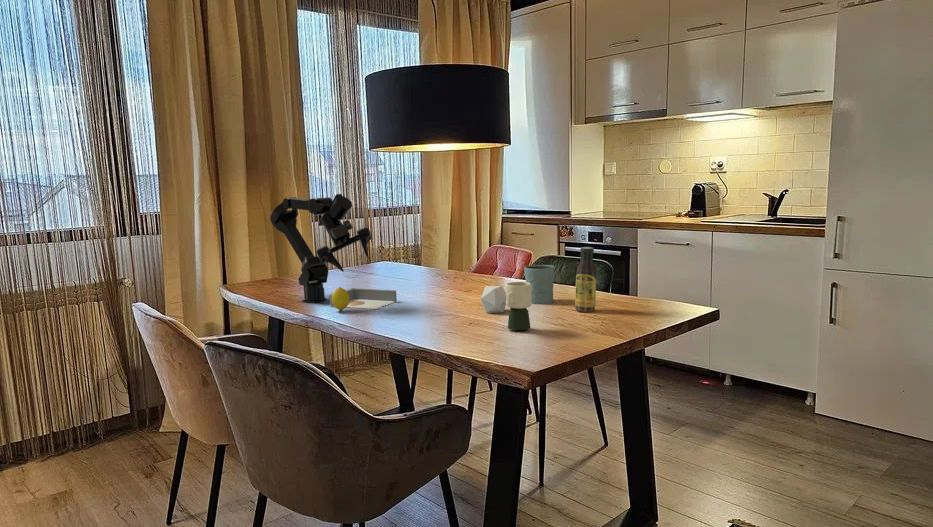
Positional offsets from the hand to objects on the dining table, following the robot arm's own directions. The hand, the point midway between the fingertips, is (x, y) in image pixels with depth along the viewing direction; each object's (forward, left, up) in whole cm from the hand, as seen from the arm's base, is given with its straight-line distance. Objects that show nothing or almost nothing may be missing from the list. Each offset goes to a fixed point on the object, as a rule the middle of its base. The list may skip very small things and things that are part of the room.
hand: (355, 265), depth 205 cm
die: (+45, +8, -15) cm, 49 cm away
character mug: (+60, -12, -15) cm, 63 cm away
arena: (-3, +7, -15) cm, 17 cm away
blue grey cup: (+54, +27, -15) cm, 63 cm away
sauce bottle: (+72, +17, -15) cm, 76 cm away
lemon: (-4, -5, -15) cm, 16 cm away
